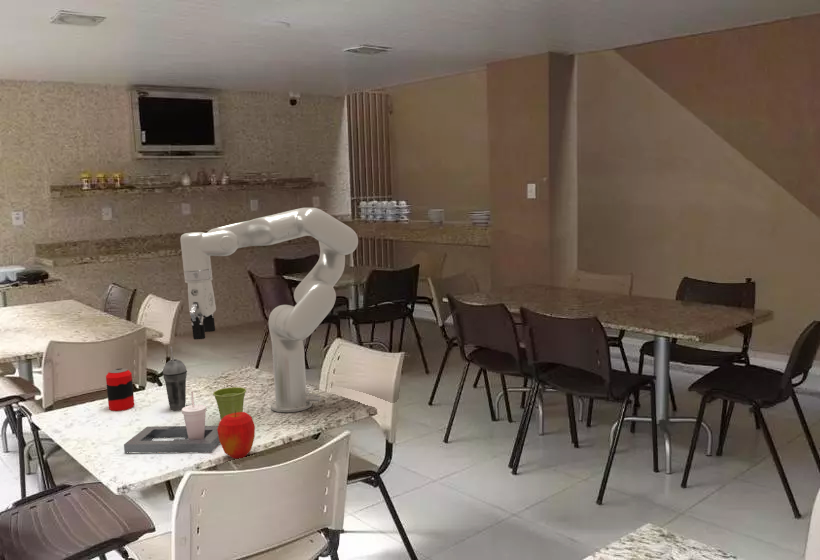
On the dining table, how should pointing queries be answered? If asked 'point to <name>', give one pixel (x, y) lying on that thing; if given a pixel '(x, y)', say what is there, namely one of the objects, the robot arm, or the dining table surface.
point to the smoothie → (195, 419)
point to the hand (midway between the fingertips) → (204, 335)
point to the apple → (236, 434)
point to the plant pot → (230, 400)
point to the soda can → (120, 389)
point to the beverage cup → (175, 383)
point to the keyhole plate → (145, 444)
